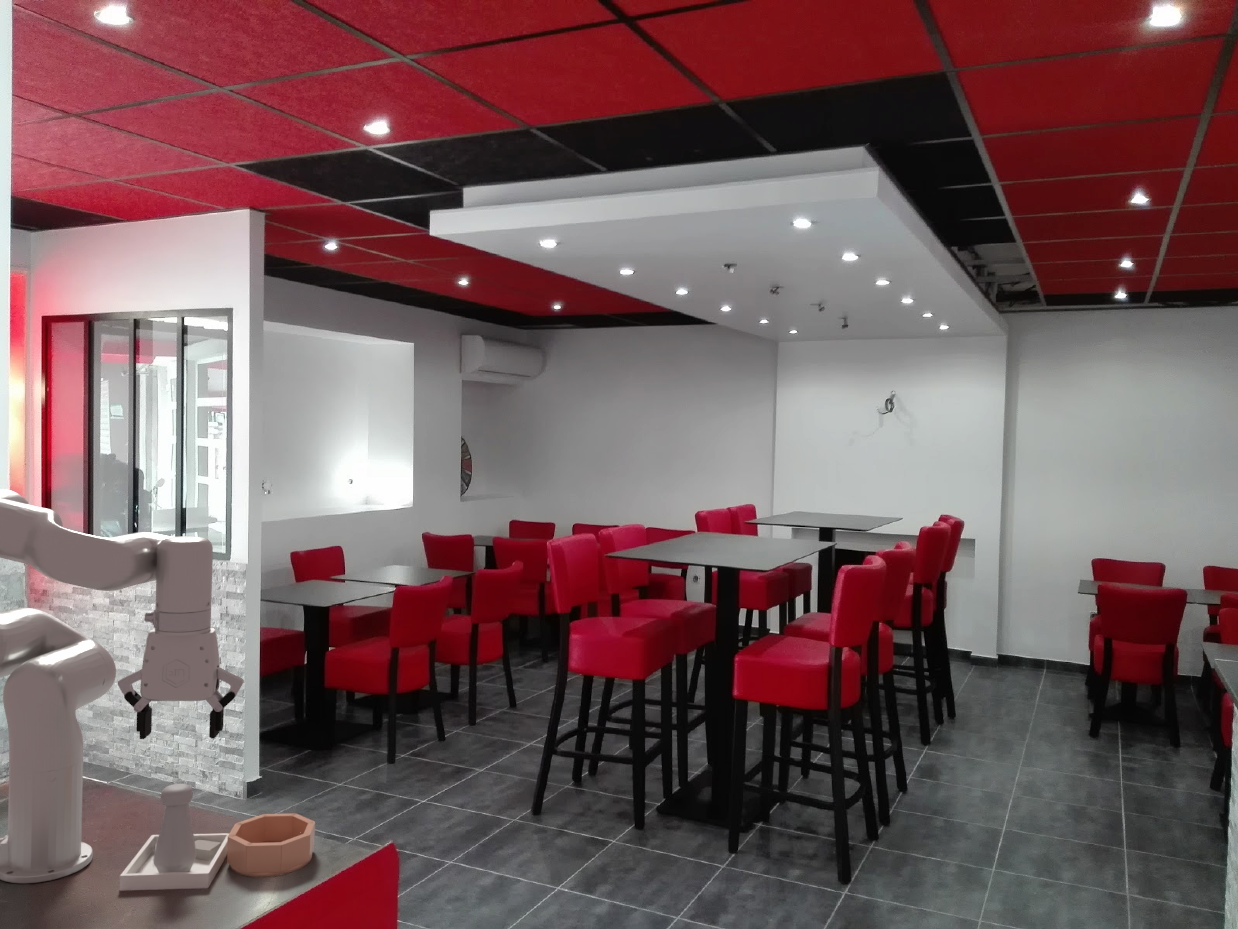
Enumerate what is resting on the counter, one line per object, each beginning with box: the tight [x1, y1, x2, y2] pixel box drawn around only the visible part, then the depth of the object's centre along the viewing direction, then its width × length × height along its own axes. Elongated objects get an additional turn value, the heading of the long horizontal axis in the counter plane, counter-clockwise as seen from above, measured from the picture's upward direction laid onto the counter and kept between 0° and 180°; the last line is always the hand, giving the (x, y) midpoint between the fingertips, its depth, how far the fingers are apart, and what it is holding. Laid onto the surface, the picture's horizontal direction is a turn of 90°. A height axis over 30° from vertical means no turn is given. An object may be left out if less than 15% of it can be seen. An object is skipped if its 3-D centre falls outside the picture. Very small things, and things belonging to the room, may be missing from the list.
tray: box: [119, 832, 230, 892], centre depth 146 cm, size 12×14×2 cm
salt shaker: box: [153, 783, 197, 873], centre depth 144 cm, size 6×6×13 cm
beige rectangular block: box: [195, 840, 221, 861], centre depth 151 cm, size 4×3×2 cm
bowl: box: [226, 812, 316, 878], centre depth 150 cm, size 12×12×5 cm
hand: (180, 736), depth 144 cm, fingers open, 9 cm apart
